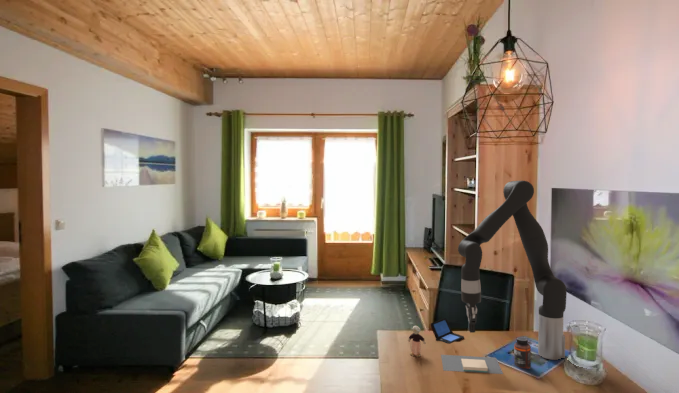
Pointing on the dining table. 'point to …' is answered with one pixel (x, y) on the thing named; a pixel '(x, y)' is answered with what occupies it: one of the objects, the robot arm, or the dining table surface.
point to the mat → (455, 361)
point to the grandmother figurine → (416, 341)
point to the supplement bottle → (522, 353)
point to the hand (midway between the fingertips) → (472, 331)
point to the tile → (474, 365)
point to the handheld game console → (444, 332)
